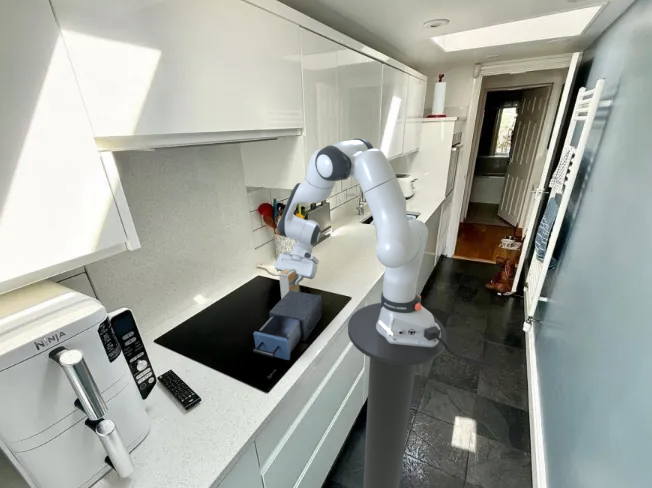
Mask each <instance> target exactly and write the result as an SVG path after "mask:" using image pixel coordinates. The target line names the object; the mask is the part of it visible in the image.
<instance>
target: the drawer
mask: <svg viewBox="0 0 652 488" xmlns="http://www.w3.org/2000/svg"><path fill="white" fill-rule="evenodd" d="M302 337H303V333H302V321H301V320H296V319H291V318H286V317H282V316H277V315H273V316H272V317H271V318H270V317H269V318H268V320H267V321H266V322H265V323H264V324H263V325H262V326H261V327H260V329H259V331H254V332H253V340H254V345H255V347H254V348H253V350H252V352H253V354H257V355H262V356H266V357H269V358H278V359H282V360H286V361H290V359H291V354H292V352H293V351H294V349H296V347H297V345H298V344H299V342H300V341H301V338H302Z"/></svg>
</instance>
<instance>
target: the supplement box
mask: <svg viewBox="0 0 652 488" xmlns="http://www.w3.org/2000/svg"><path fill="white" fill-rule="evenodd" d="M295 272H296V270H295V269H292V268H287V269H286V270H284V271H283V272H281V271H280V272H279V275H278V276H279V277H278V278H279V287H280V288H279V289H280V297H281V299H282V298H283V297H284V296H285V295H286V294H287V293H288V292H289V291H296V292H300V283H299V284H298V286H296V285H294V284H293V283H294V280H295V281H296V280H297V279H298V278H299V277H298V274H295ZM281 299H280V300H281Z"/></svg>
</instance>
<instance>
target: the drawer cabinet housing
mask: <svg viewBox="0 0 652 488" xmlns="http://www.w3.org/2000/svg"><path fill="white" fill-rule="evenodd" d="M268 314H269V319H270V318H271V317H272V316H273V315H277V316H282V317H286V318H291V319H296V320H301V321H302V333H303V337H302V338H301V340H300V341H301V342H306V341H307V340H308V338H309V336H310V335H311V333H312V332H313V330H314V329H315V328H316V326H317V324H318V323H319V321H320V320H321V319H322V317H323V307H322V295H318V294H312V293H307V292H302V291H299V292H296V291H289V292H288V293H287V294H286V295H285V296H284V297H283V298H282V299H280V300H279V301H278V302H277V303H276V304H275V305H274V307H273V308H271V310H269V312H268Z"/></svg>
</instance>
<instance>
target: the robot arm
mask: <svg viewBox="0 0 652 488" xmlns="http://www.w3.org/2000/svg"><path fill="white" fill-rule="evenodd" d="M349 177H350V178H353V179H355V180H356V181H357V183H358V185H359V186H360V189H361V192H362V194H363V197H364V199H365V201H366V203H367V206H368V208H369V210H370V211H369V212H370V213H371V215H372V216H371V217H372V219H373V223H374V229H375V235H376V236H375V237H376V242H377V243H376V248H375V254H376V257H377V260H378V261H379V262H380V263H381V265H383V266H384V267H385V269H384V272H383V283H382V291H381V293H380V301H379V303H380V304H381V311H380V315H379V319H378V321H377V323H376V329H377V331H378V332H379V333H380V334H381V335H382V336H384V337H385V338H386V339H387V341H388V342H389V343H391V344H400V345H411V346H422V347H435V346H436V345H437V344H438V343H439V341H440V342H441V343H442V344H443V345H444V347H445V348H444V349H445V350H446V351H447V352H448V353H449V354H450V355H452V356H454V357H456V358H458V359H461V360H463V361H467V362H469V363H473V364H478V365H484V366H488V367H491V366H492V362H488V361H481V360H477V359H473V358H469V357H467V356H463V355H460V354H458V353H456V352H454V351H453V350H451V349H450V348H449V346H448V345H447V342H446V343H445V342H444V341H443V340H442V339H441V338H440V337H441V330H440V328H439V326H438V324H437V323H435V321H434V317H435V316H434V315H433V313H431V311H430V310H428V309H427V308H426V307H424V306H423V305H422V296H421V295H419V296H418V295H417V286H418V279H419V273H420V270H421V267H422V262H423V259H424V255H425V250H426V245H427V241H428V238H429V228H428V226H427V225H426V224H425V223H424V222H423V221H422V220H420V219H415V218H413V219H408V213H407V212H408V211H407V199H406V197H405V194H404V192H403V189H402V186H401V185H400V184H401V183H400V181H399V179H398V178H397V175H396V172H395V170H394V169H393V166H392V165H391V163H390V161H389V159H388V158H387V156H386V155H385V153H384V152H383V151H382V150H381V149H379V148H374V146H373V144H372V143H371V142H370V141H369V140H367V139H365V138H354V139H348V140H342V141H339V142H338V141H337V142H335V143H333V144H331V145H326V146H324V147H321V148H317V149H316V150H315V151H313V153H312V154H311V157H310V159H309V162H308V163H307V168H306V171H305V175H304V179H303V180H302V182H297V183H296V184H295V185H294V186H293V188H292V190H291V192H290V195H289V197H288V199H287V201H286V204H285V207H284V209H283V211H282V214H281V216H280V218H279V219H278V221H277V225H276V230H277V233H278V234H279V236H280V237H284V238H288V239H290V240H293V241H295V242H294V243H293V246H292V248H291V250H290V252H288V251H283V252H280V254H279V256H278V258H277V259H276V261H275V262H274V263H275V264H274V269H275V270H276V271H279V272H280V273H281V272H283V271H284V270H286V269H287V268H292V269H295V270H296V272H295V274H298V277H299V278H298V279H297V280H296V281H295V280H294V283H293V284H294V285H296V286H298V284H299V285H300V283H301V282H302V281H303V280H304V278H305V279H309V280H313V279H315V277H316V274H317V271H318V264H319V263H320V260H319V259H318V258H317V257H316V256H315V255H314V254H313V250H314V249H313V248H314V246H316V245H318V243H319V240H320V238H321V235H322V230H321V228H320V227H321V226H320V224H319V223H318V222H317V221H315V220H313V219H305V218H301V217H299V216H297V215H295V214H294V213H295V211H296V209H297V206H298V204H303V203H304V204H305V203H309V204H310V203H311V204H317V203H321V202H323V201H325V200H327V199H328V198H330V197H331V195H332V192H333V189H334V187H335V185H336V184H335V183H336V182H338V181H339V182H340V181H347V180H348V179H349ZM433 316H434V317H433Z"/></svg>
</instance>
